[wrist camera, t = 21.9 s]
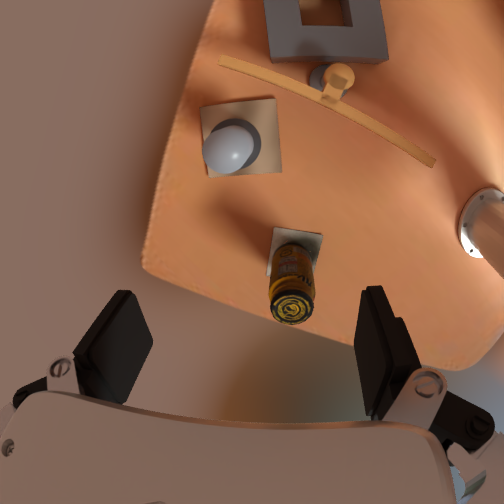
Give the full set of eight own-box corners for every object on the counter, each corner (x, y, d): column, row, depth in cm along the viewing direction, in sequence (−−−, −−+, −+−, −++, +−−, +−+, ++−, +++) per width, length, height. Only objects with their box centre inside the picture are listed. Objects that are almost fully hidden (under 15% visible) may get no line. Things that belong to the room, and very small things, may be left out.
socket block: (363, -21, 23) (374, -38, 17) (380, 102, 32) (397, 102, 26) (260, -23, 25) (256, -42, 19) (276, 102, 34) (274, 101, 28)
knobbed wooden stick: (238, 27, 24) (235, 22, 22) (442, 129, 27) (449, 131, 25) (221, 66, 27) (217, 63, 25) (424, 164, 29) (432, 168, 27)
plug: (261, 113, 34) (251, 116, 25) (267, 157, 37) (259, 177, 27) (216, 120, 35) (189, 126, 26) (223, 163, 38) (200, 185, 28)
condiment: (266, 275, 46) (259, 326, 36) (274, 226, 42) (269, 270, 32) (311, 281, 46) (316, 334, 36) (323, 234, 42) (334, 279, 31)
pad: (275, 98, 34) (275, 98, 33) (282, 171, 38) (281, 172, 38) (200, 107, 35) (199, 107, 34) (210, 176, 40) (208, 178, 39)
